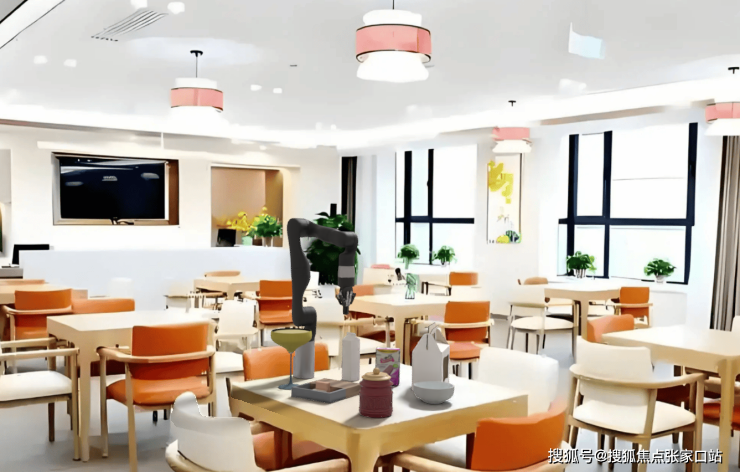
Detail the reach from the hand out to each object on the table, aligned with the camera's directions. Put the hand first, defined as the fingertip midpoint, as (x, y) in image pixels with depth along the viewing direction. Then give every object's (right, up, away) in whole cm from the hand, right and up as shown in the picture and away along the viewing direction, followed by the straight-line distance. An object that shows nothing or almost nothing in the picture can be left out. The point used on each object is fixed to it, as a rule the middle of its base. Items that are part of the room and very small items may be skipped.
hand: (345, 314), depth 330 cm
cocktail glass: (-24, -32, -6) cm, 40 cm away
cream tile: (-11, -29, -27) cm, 41 cm away
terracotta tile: (-8, -28, -23) cm, 37 cm away
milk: (+2, -32, +11) cm, 34 cm away
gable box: (+38, -33, -1) cm, 50 cm away
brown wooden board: (-4, -32, -16) cm, 36 cm away
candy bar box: (+19, -32, +2) cm, 37 cm away
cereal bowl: (+37, -33, -30) cm, 58 cm away
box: (-10, -32, -26) cm, 42 cm away
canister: (+13, -33, -51) cm, 62 cm away
